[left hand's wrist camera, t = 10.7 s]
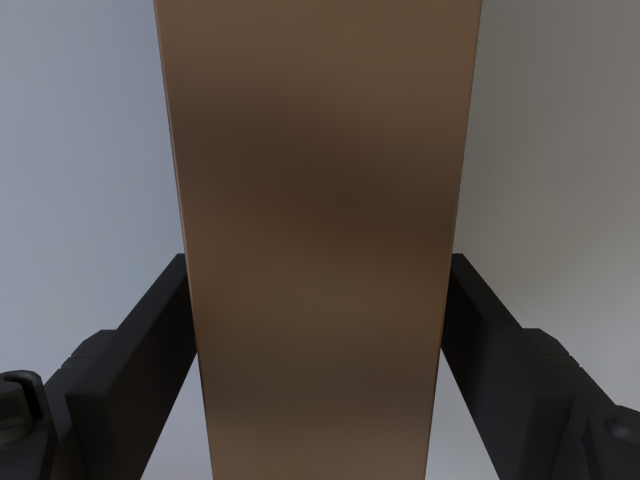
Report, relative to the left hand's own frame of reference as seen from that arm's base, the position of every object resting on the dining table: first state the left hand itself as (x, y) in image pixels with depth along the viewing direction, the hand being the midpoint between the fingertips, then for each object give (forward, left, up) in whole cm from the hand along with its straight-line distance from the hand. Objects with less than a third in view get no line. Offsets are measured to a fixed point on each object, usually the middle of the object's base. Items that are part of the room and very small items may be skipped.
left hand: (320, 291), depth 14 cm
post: (+22, +5, -3) cm, 22 cm away
